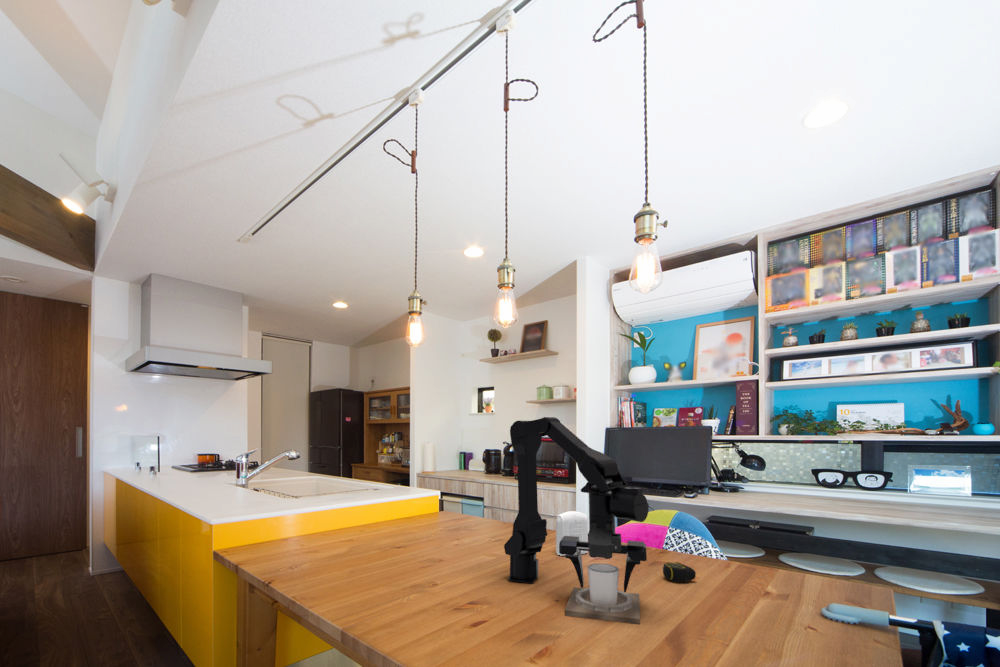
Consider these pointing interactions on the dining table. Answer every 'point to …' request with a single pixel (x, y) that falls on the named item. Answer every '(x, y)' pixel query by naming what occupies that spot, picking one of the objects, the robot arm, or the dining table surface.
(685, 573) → the tape measure
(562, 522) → the white rounded block
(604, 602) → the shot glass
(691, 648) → the dining table surface
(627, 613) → the ring holder
